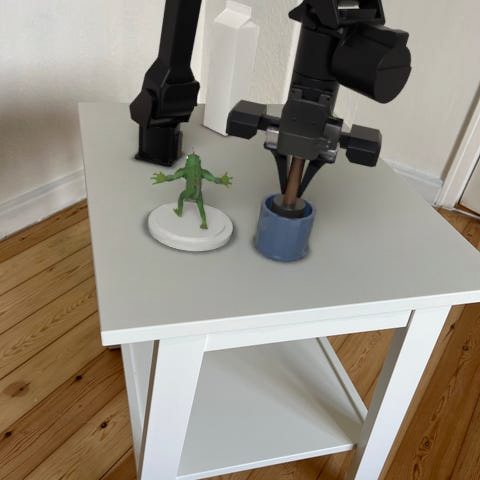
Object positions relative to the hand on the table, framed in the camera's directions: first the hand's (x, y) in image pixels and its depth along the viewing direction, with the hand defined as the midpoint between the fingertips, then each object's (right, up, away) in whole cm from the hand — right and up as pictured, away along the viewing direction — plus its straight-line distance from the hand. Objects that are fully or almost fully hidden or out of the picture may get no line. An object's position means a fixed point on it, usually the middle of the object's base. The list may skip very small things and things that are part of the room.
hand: (291, 195), depth 74 cm
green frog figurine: (-14, -4, +6) cm, 15 cm away
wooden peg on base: (-1, -4, +3) cm, 5 cm away
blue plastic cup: (-1, -6, +5) cm, 8 cm away
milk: (-10, +21, +36) cm, 43 cm away
